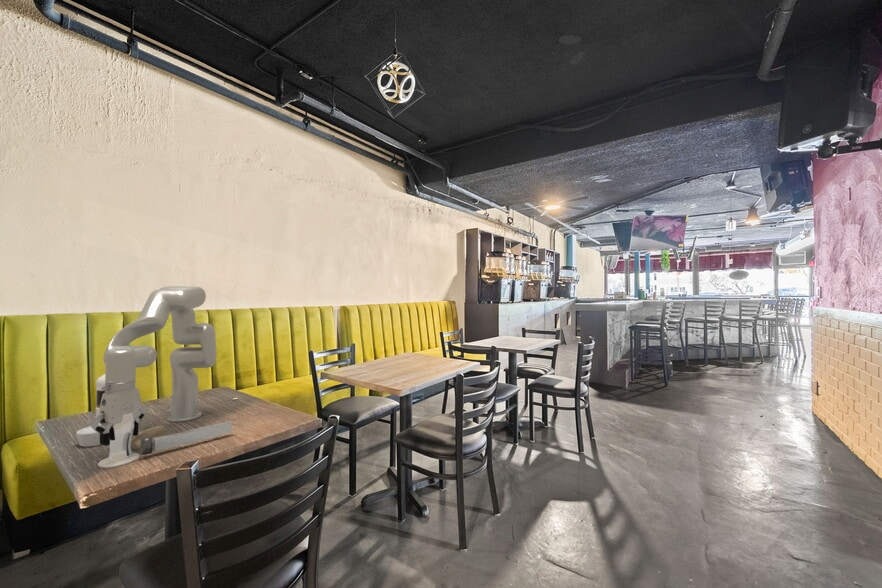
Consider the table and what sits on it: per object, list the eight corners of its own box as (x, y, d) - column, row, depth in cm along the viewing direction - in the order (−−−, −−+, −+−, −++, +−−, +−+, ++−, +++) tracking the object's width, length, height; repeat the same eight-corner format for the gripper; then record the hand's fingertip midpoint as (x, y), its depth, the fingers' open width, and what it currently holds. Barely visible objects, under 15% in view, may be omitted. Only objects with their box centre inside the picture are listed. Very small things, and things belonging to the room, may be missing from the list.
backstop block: (132, 448, 129) (132, 434, 129) (157, 439, 137) (157, 425, 137) (138, 449, 128) (139, 435, 128) (163, 439, 137) (163, 426, 137)
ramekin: (124, 436, 141) (125, 422, 141) (103, 447, 130) (103, 432, 130) (92, 437, 139) (92, 424, 139) (67, 449, 128) (67, 434, 128)
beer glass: (117, 454, 122) (118, 410, 123) (139, 453, 123) (140, 409, 123) (99, 463, 115) (100, 416, 116) (123, 462, 116) (124, 415, 116)
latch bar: (139, 453, 121) (140, 438, 121) (229, 430, 142) (229, 417, 142) (141, 455, 119) (142, 440, 119) (232, 432, 140) (232, 419, 140)
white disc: (90, 465, 115) (90, 464, 115) (124, 453, 125) (124, 451, 125) (114, 469, 113) (114, 467, 113) (146, 456, 123) (146, 454, 123)
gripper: (98, 394, 110) (97, 452, 110) (155, 381, 127) (155, 431, 127) (80, 392, 112) (79, 449, 111) (139, 380, 129) (138, 429, 128)
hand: (119, 439), depth 119 cm, fingers open, 8 cm apart
